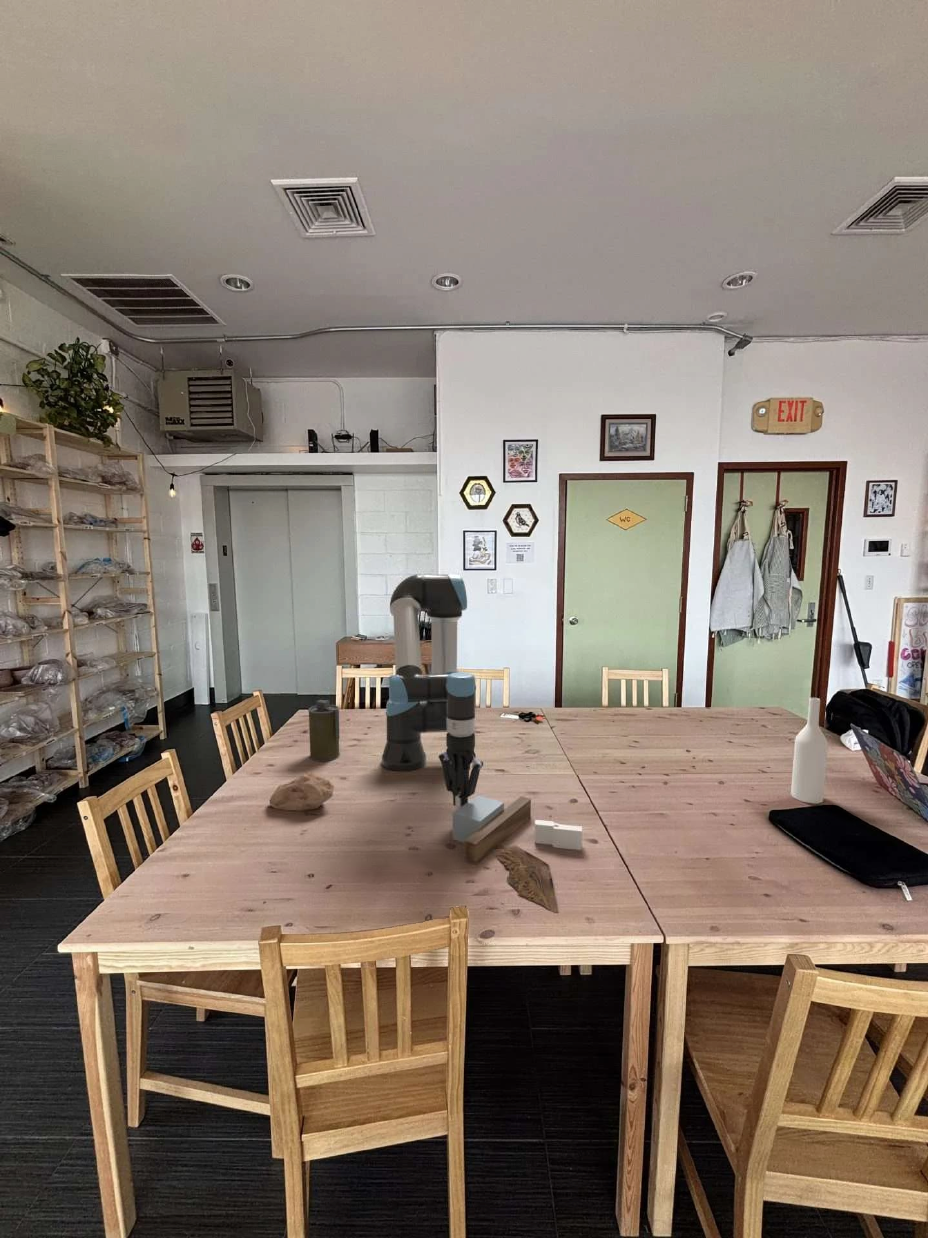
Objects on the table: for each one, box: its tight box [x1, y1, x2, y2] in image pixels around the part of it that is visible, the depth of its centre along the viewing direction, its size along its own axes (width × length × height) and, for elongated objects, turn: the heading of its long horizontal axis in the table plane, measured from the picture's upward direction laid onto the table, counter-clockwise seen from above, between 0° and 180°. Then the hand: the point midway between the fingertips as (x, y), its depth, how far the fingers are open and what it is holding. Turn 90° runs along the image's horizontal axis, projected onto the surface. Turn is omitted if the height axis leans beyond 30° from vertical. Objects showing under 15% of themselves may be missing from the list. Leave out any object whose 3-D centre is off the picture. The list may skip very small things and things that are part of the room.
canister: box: [307, 699, 341, 762], centre depth 191 cm, size 11×10×20 cm
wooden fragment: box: [495, 844, 559, 914], centre depth 121 cm, size 26×11×1 cm, turn 12°
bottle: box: [790, 697, 829, 805], centre depth 158 cm, size 8×8×30 cm
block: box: [452, 794, 505, 844], centre depth 139 cm, size 8×12×7 cm, turn 147°
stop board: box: [464, 795, 532, 865], centre depth 137 cm, size 3×28×5 cm, turn 146°
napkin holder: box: [534, 819, 583, 851], centre depth 135 cm, size 15×11×6 cm
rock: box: [269, 772, 335, 812], centre depth 153 cm, size 18×10×10 cm, turn 94°
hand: (460, 818), depth 144 cm, fingers closed
